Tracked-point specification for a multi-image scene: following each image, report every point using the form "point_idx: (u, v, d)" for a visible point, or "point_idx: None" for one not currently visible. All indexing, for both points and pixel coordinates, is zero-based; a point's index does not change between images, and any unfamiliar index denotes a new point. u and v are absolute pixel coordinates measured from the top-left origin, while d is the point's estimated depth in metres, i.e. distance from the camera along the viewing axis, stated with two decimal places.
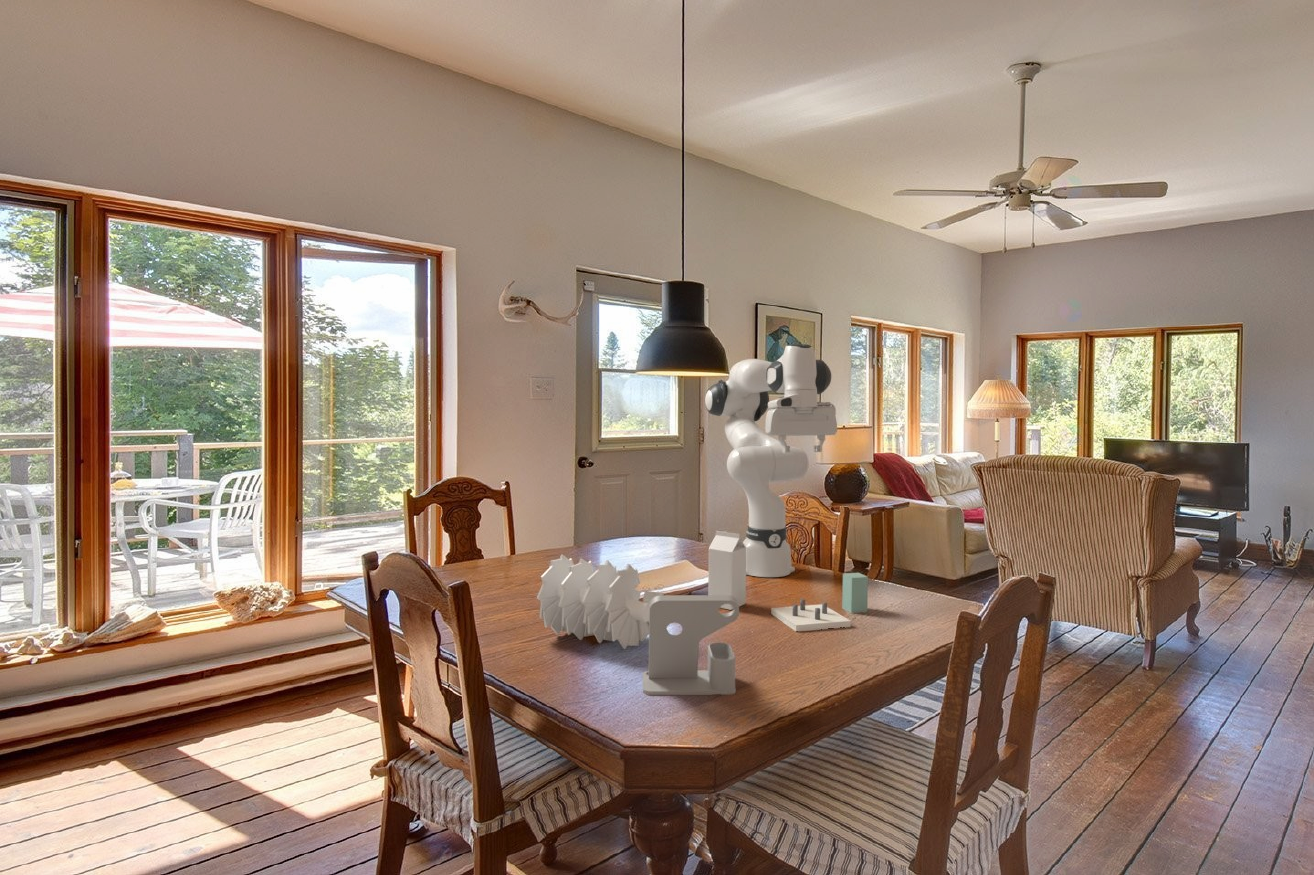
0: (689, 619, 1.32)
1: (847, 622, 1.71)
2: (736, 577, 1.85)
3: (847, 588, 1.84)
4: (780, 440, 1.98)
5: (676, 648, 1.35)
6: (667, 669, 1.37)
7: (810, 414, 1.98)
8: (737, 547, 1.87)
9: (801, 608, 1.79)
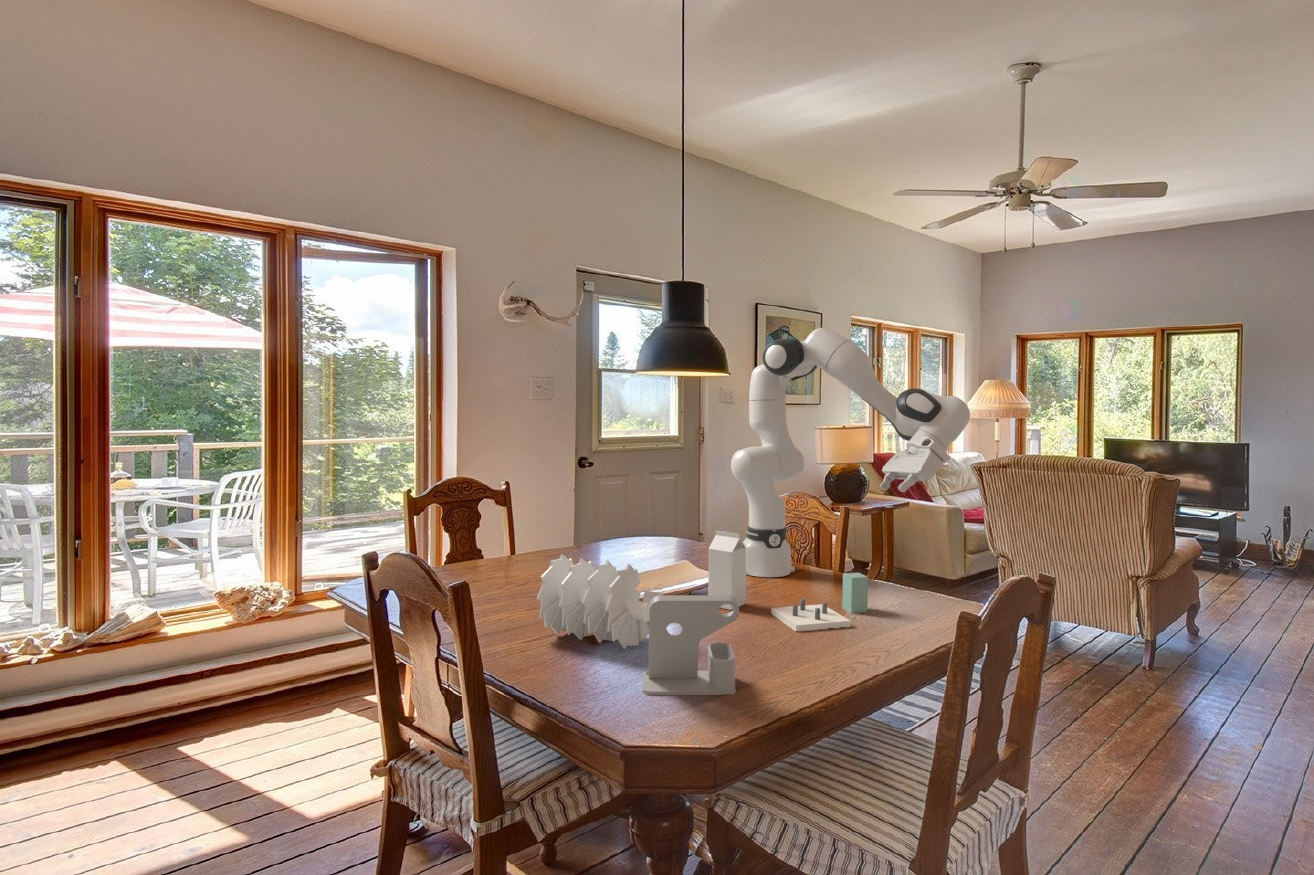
0: (689, 619, 1.32)
1: (847, 622, 1.71)
2: (736, 577, 1.85)
3: (847, 588, 1.84)
4: (911, 481, 1.82)
5: (675, 648, 1.35)
6: (667, 669, 1.37)
7: None
8: (737, 547, 1.87)
9: (801, 608, 1.79)
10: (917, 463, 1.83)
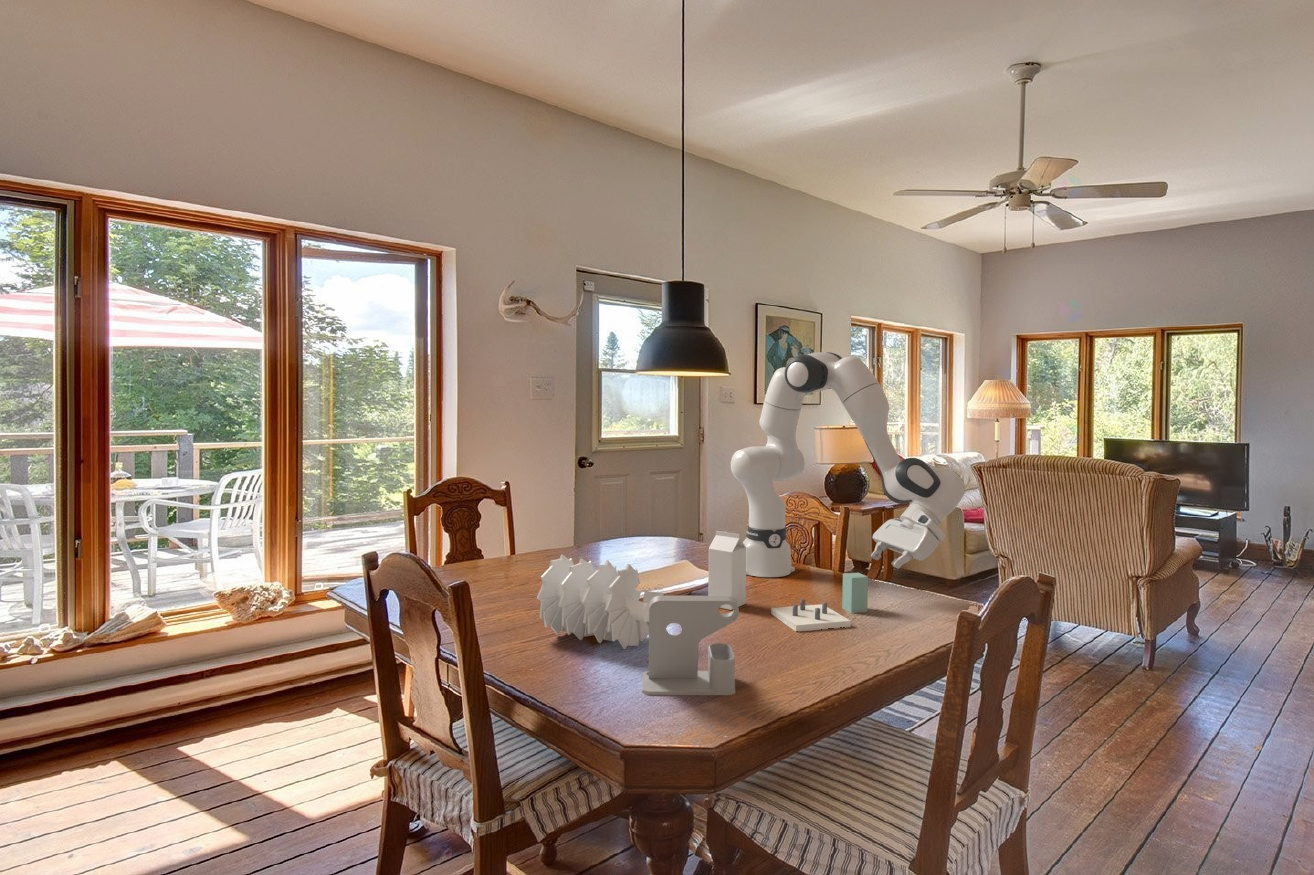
0: (688, 619, 1.32)
1: (847, 622, 1.71)
2: (736, 577, 1.85)
3: (847, 588, 1.84)
4: (906, 558, 1.80)
5: (675, 648, 1.35)
6: (667, 669, 1.37)
7: None
8: (737, 547, 1.87)
9: (801, 608, 1.79)
10: (913, 540, 1.81)
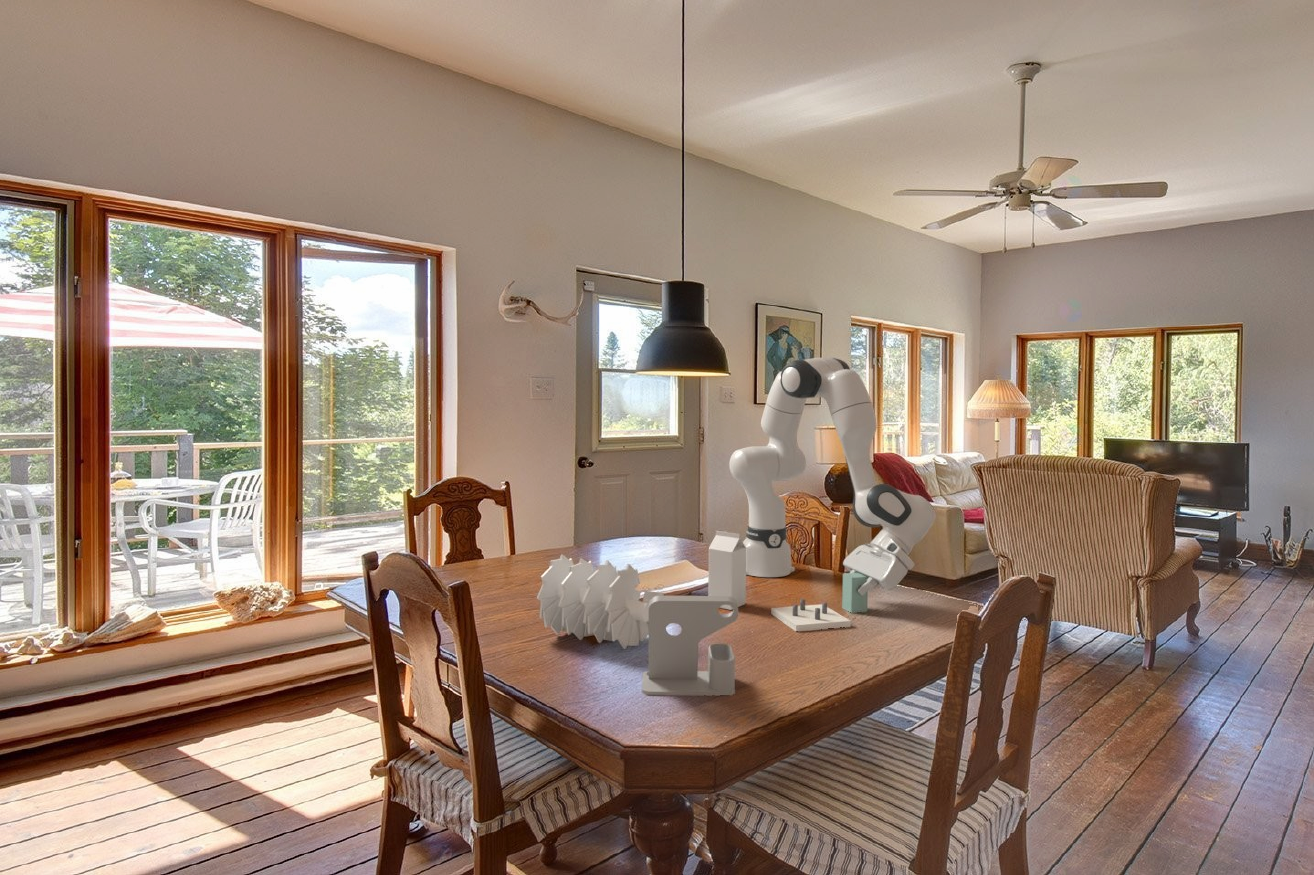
0: (688, 620, 1.32)
1: (847, 622, 1.71)
2: (736, 577, 1.85)
3: (847, 588, 1.84)
4: (871, 585, 1.80)
5: (675, 648, 1.35)
6: (667, 669, 1.37)
7: None
8: (737, 547, 1.87)
9: (801, 608, 1.79)
10: (881, 568, 1.79)
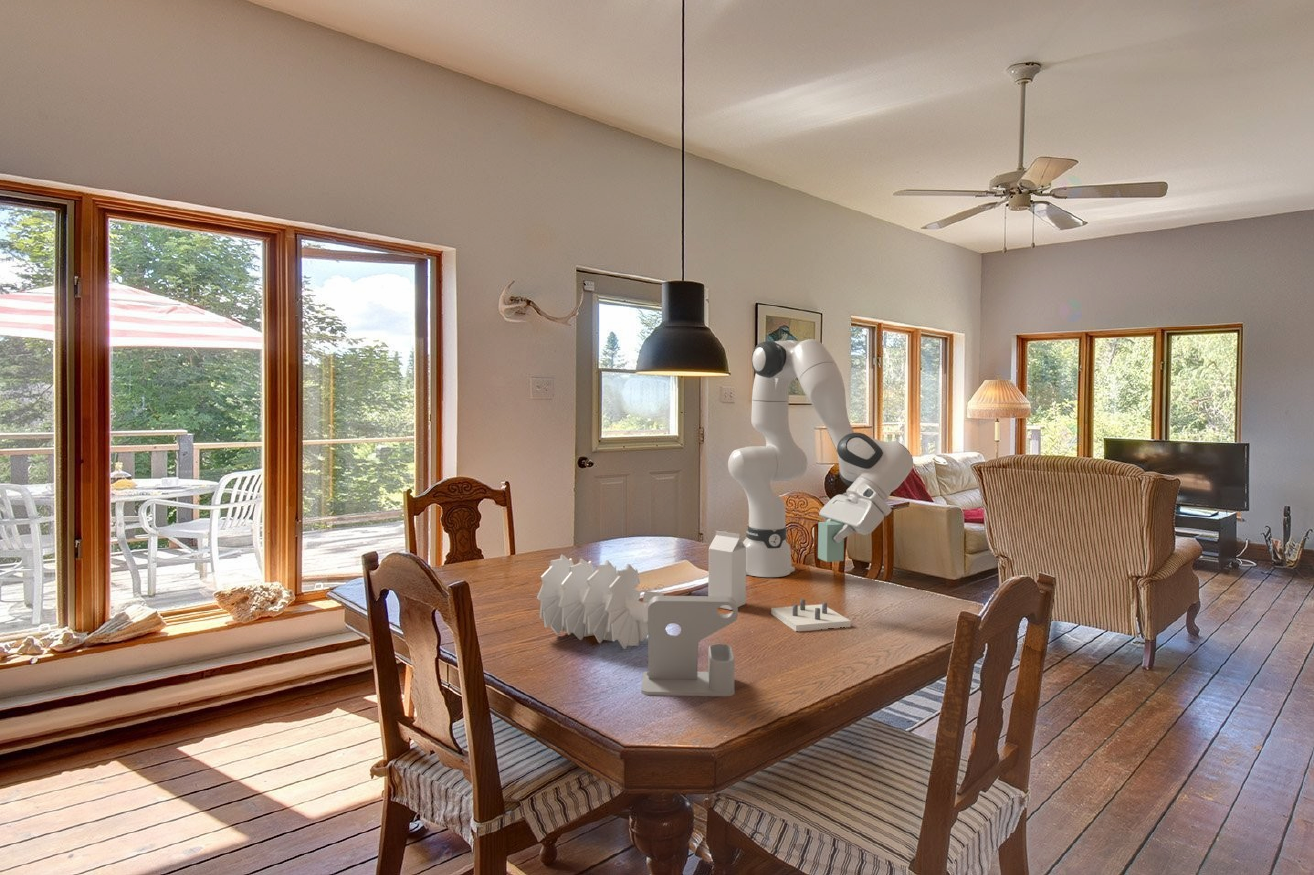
0: (687, 620, 1.32)
1: (847, 622, 1.71)
2: (736, 577, 1.85)
3: (822, 537, 1.78)
4: (847, 532, 1.74)
5: (675, 649, 1.35)
6: (667, 670, 1.37)
7: None
8: (737, 547, 1.87)
9: (801, 608, 1.79)
10: (857, 514, 1.73)
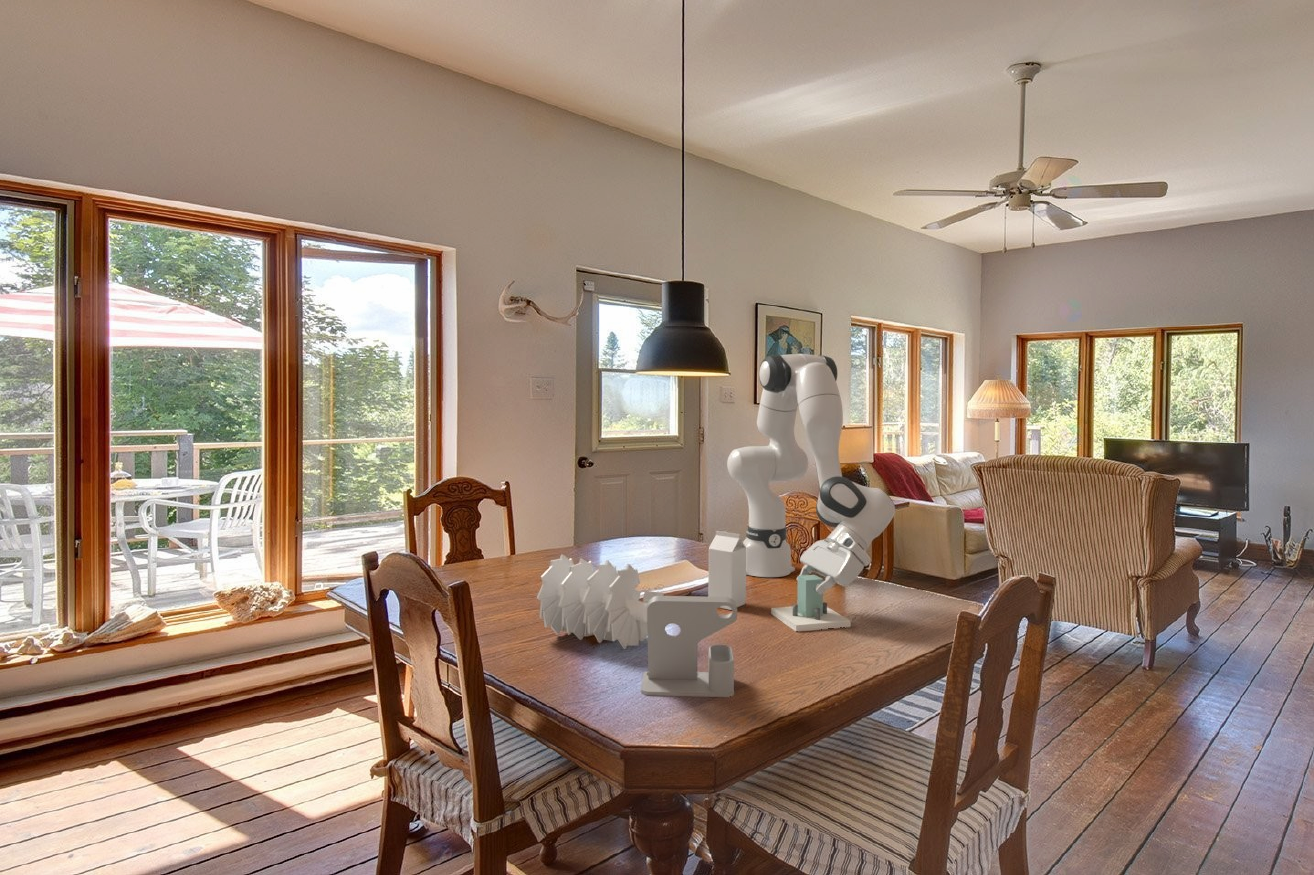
0: (687, 620, 1.32)
1: (847, 622, 1.71)
2: (736, 577, 1.85)
3: (801, 591, 1.75)
4: (829, 583, 1.70)
5: (674, 649, 1.35)
6: (666, 670, 1.37)
7: None
8: (737, 547, 1.87)
9: None
10: (836, 564, 1.70)
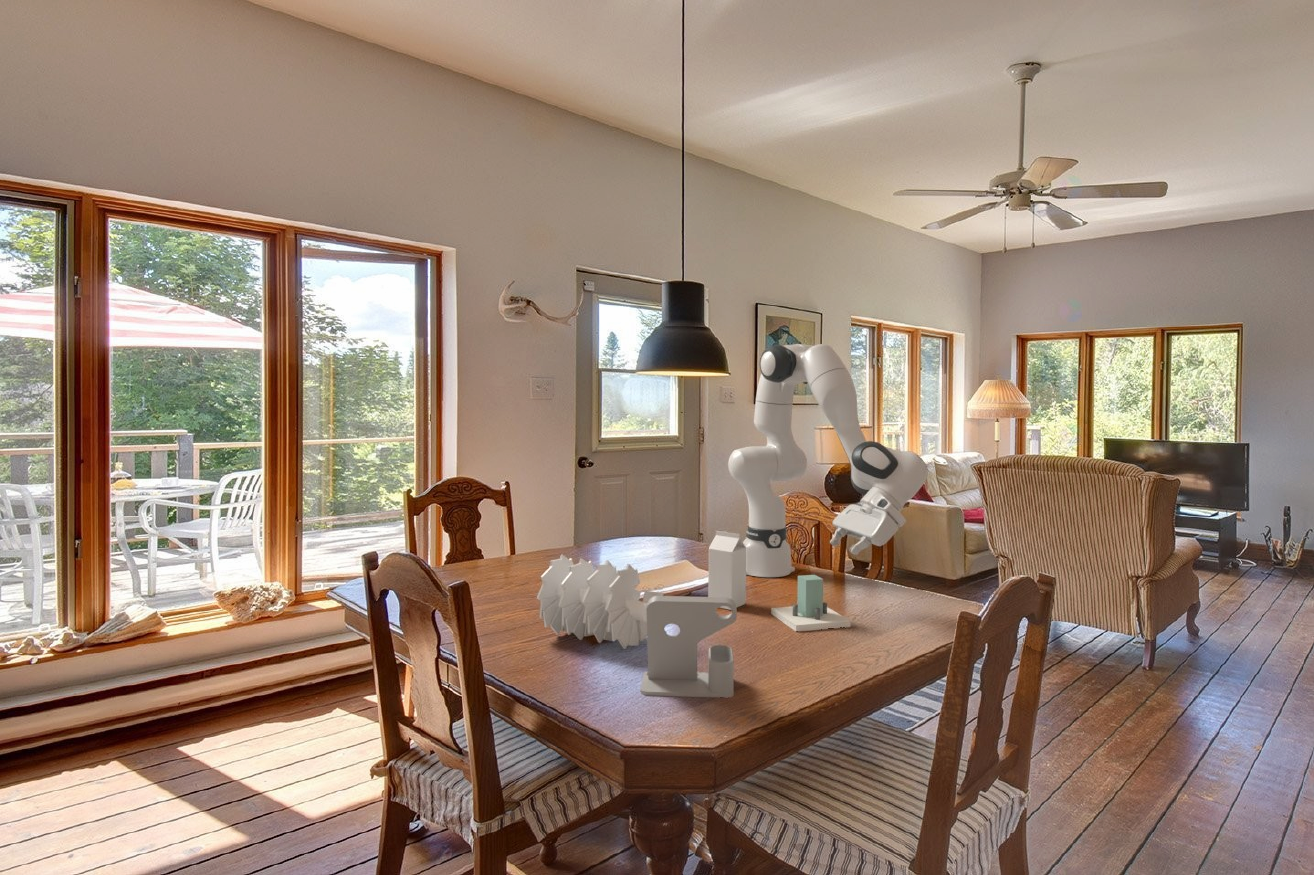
0: (686, 620, 1.32)
1: (847, 622, 1.71)
2: (736, 577, 1.85)
3: (801, 591, 1.75)
4: (864, 544, 1.71)
5: (674, 649, 1.34)
6: (666, 670, 1.36)
7: None
8: (737, 547, 1.87)
9: None
10: (871, 525, 1.72)
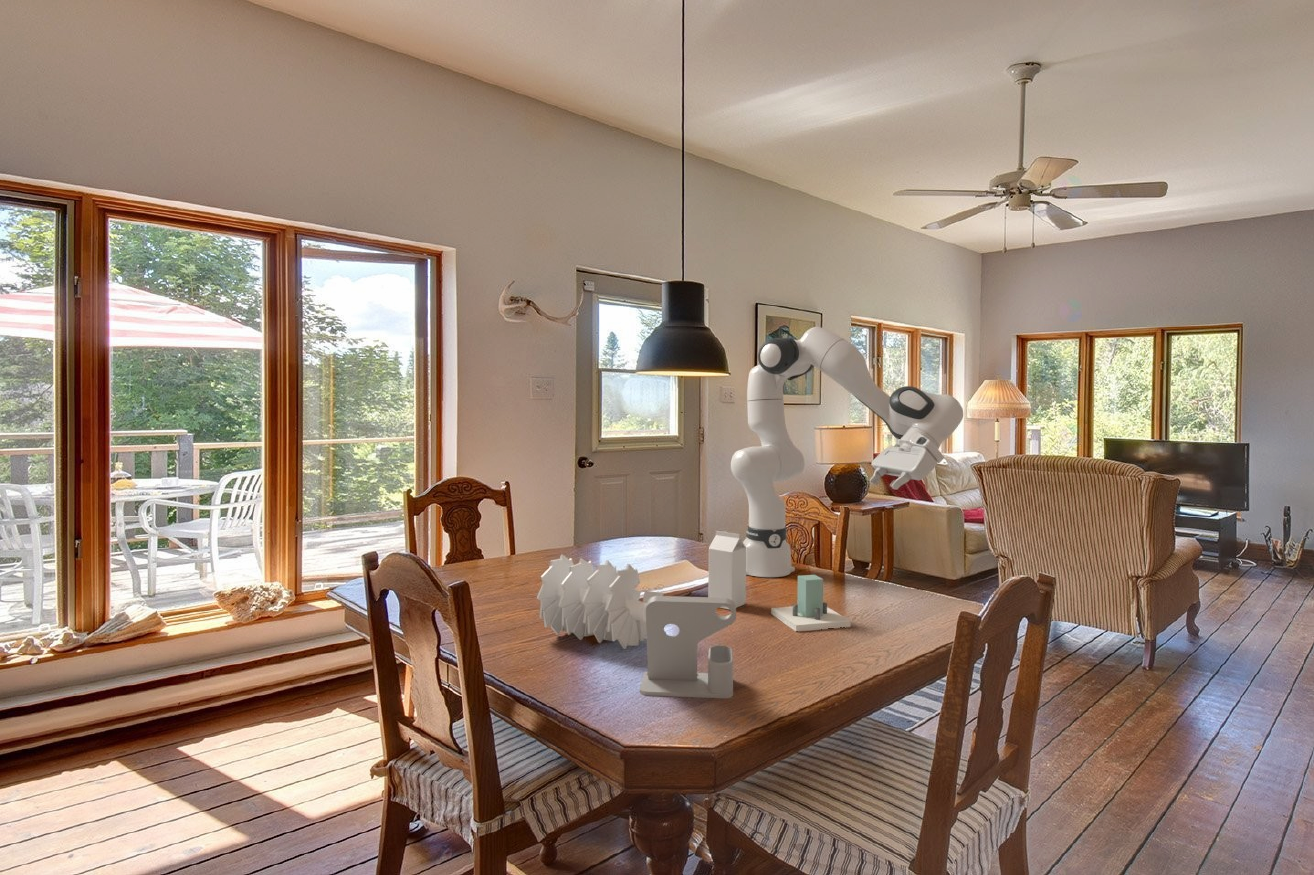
0: (686, 621, 1.31)
1: (847, 622, 1.71)
2: (736, 577, 1.85)
3: (801, 591, 1.75)
4: (905, 479, 1.81)
5: (673, 649, 1.34)
6: (666, 670, 1.36)
7: None
8: (737, 547, 1.87)
9: None
10: (911, 461, 1.82)
